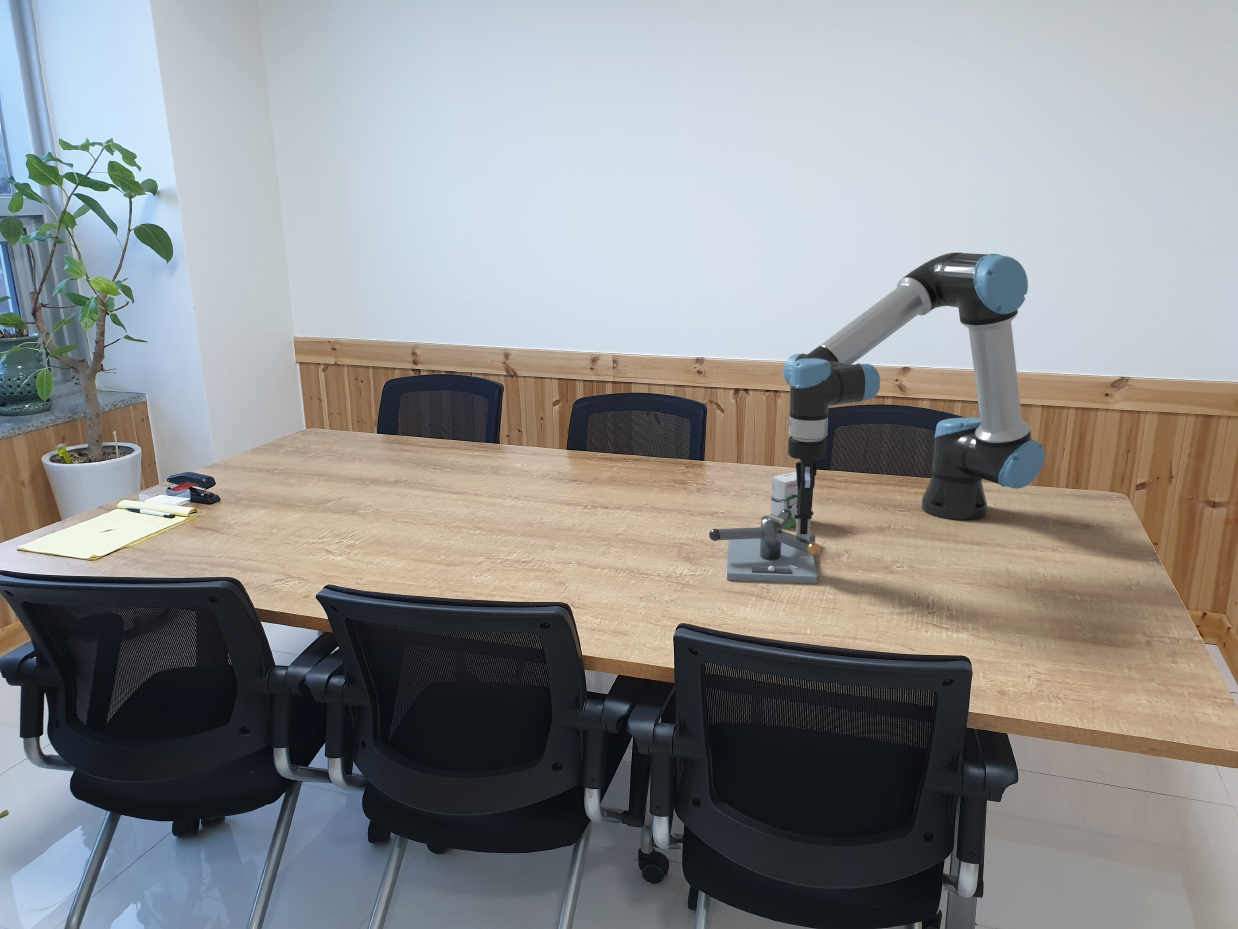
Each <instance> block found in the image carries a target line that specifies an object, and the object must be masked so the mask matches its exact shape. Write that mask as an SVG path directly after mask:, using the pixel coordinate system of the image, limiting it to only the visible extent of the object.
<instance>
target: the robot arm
mask: <svg viewBox="0 0 1238 929" xmlns="http://www.w3.org/2000/svg"><path fill="white" fill-rule="evenodd" d="M1028 281H1029V280H1028V275H1027V273H1026V271H1025V268H1024V266H1023V265H1022V264H1021V263H1020V262H1019V261H1018V260H1016V259H1015V258H1014V257H1011V256H1008V255H1002V254H999V253H987V254H986V253H970V252H969V253H968V252H967V253H966V252H950V253H944V254H942V255H938V256H936V257H934V258H932V259H929V260H928V261H927V262H924V263H923V264H921V265H919V266H917V268H915V269H913V270H912V271H910V272H909V273H907V274H906V275H904V276H903V277H902V278H900V279H899V280H898V281H897V284H896V288H895V289H893V290H892V291H891V292H890V293H888V294H887V295H885V296H883V298H881V299H880V300H879V301H877V302H875V303H874V304H873V305H872V306H871V307H869V308H868V309H867V310H865V311H864V312H862V313H861V314H860V315H858V316H857V317H856V318H855V319H853V320H851V322H849V323H848V324H846V325H845V326H844V327H842V328H841V329H840V330H838V331H837V332H836V333H834V334H833V335H832V336H830V337H829V338H828V339H826V340H825V341H824V342H822V343H821V344H820V345H818V346H817V347H816V348H814V349H813V350H811V351H810V352H809V353H794V354H793V355H791V356H789V357H788V358H787V359H786V361H785V363H784V365H783V369H782V370H783V371H782V375H783V378H784V380H785V382H786V383H787V385H788V386H789V417H788V418H789V420H786V421H785V425H787V426H788V435H789V437H788V438H787V454H788V456H789V457H791V458H793V459H794V460H795V459H796V460H799V461H797V462H795V472H796V473H797V477H796V481H797V487H798V492H797V505H796V507H797V509H798V510H797V514H798V515H794V519H797V525H796V526H795V527H796V530H795V535H796V536H798V537H801V538H803V539H806V540H808V541H810V533H811V520H812V518H813V516H814V511H813V496H814V488H815V486H816V485H815V482H816V476H817V466H816V465H817V464H816V463H815V462H814V461H815V460H822V459H824V458H825V457H826V455H827V438H826V437H827V436H828V425H829V424H828V423H829V409H830V408H829V407H830V406H834V405H835V406H837V405H843V404H844V405H845V404H851V403H861V402H864V401H868V400H869V401H870V400H872V399H874V398H875V397H876V396H877V395H878V393H879V391H880V389H881V376H880V374H879V372H878V369H877V368H876V367H875V366H874V365H873V364H870V363H860V362H858V363H856V362H857V361H859V360H860V359H861V358H863V357H864V356H865V355H867V354H868V353H869V352H870V351H871V350H873V349H875V348H876V347H877V346H878V345H880V344H881V343H882V342H884V341H885V340H886V339H888V338H890V336H892V335H893V334H894V333H895V332H897V331H899V330H900V329H901V328H902V327H904V326H905V325H906V324H907V323H909V322H910V321H912V320H913V319H915V318H916V317H917V316H925V315H927V314H928V313H931V312H932V311H933V310H934V309H938V308H941V307H952V308H958V314H959V315H958V316H959V321H960V322H959V323H960V324H961V325H963V326H964V327H966V328H967V329H968V333H969V334H968V335H969V342H970V348H971V349H970V350H971V356H972V364H973V365H972V366H973V372H974V380H975V389H976V396H977V403H978V410H979V417H953V418H946V419H942V420H940V421H938V422H937V424H936V427H935V434H934V438H933V439H934V440H933V453H932V454H933V455H932V467H931V468H932V471H931V478H930V480H929V482H928V485H927V487H926V489H925V492H924V494H923V496H922V498H921V510H923V511H924V512H926V513H928V514H930V515H932V516H936V517H938V518H944V519H951V520H976V519H981V518H982V517H984V516H986V515H987V512H988V503H987V499H986V495H985V494H986V493H985V491H984V490H985V489H984V486H983V480H984V481H988V482H991V483H993V484H997V485H999V486H1001V487H1005V488H1006V487H1007V488H1010V489H1017V490H1018V489H1023V488H1025V487H1027V486H1029V485H1030V484H1031V483H1033V481H1035V480H1036V478H1037V477H1038V475H1039V473H1040V472H1041V471H1042V468H1043V466H1044V464H1045V458H1046V452H1045V448H1044V446H1043V444H1041V443H1040V442H1039V441H1038V440H1034V439H1033V438H1032V432H1031V427H1030V424H1029V423H1028V422H1027V421H1025V420H1023V418H1022V409H1021V408H1022V407H1021V400H1020V391H1019V381H1018V374H1017V373H1018V372H1017V364H1016V363H1017V362H1016V354H1015V344H1014V343H1015V342H1014V338H1013V337H1014V335H1013V327H1012V321H1013V320H1014V319H1016V317H1017V316H1018V314H1019V309H1020V308H1021V307H1022V305H1023V304H1024V303H1025V301H1026V297H1025V295H1027V294H1028V291H1029V290H1028V289H1029V282H1028ZM855 363H856V364H855Z"/></svg>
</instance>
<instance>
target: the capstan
mask: <svg viewBox="0 0 1238 929" xmlns="http://www.w3.org/2000/svg"><path fill="white" fill-rule="evenodd" d="M791 517H792V513H791V511H790V510H788V509H784V510H782V511H781V512H780V514H779V515H778V516H773V515H771V514H769V515H764V516H761V517H760V518H761V519H760V526H759V527H738V528H713V529H711V530H710V531H709V533H708V537H709V539H710V540H711V541H713V542H717V541H728V540H735V539H757V538H761V539H760V556H761V557H762V558H764V559H770V560H774V559H779V558H780V557H781V543H784V544H786V545H789V546H791V547H794V548H796V549H799V550H801V551H804V552H806V553H809V554H810V555H813V556H817V555H819V553H820V551H821V547H820V545H819V543H817V542H815V543H814V542H811V541H808V540H806V539H803V538H801V537H798V536H795V535H796V534H794V533H793V534H792V533H790V532H787V531H785V530H783V529H782V528H783V527H784V526H785V524H786V523H787V522H788V521H789V520H790V519H791Z"/></svg>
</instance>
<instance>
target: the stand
mask: <svg viewBox="0 0 1238 929" xmlns="http://www.w3.org/2000/svg"><path fill="white" fill-rule="evenodd" d="M794 535H795V536H796V534H794ZM760 539H761V538H757V539H735V540H727V542H728V543H727V545H728V546H727V547H728V548H727V566H726V581H736V582H737V581H740V582H741V581H743V582H764V583H765V582H766V583H769V582H771V583H793V584H794V583H795V584H815V585H816V584H818V575H817V570H816V563H815V558H814V555H810V554H809V553H806V552H804V551H801V550H799V549H796V548H794V547H791V546H789V545H786V544H784V543H781V557H780V558H779V559H774V560H770V559H764V558H762V557H761V556H760ZM810 541H811V542H814V543H816V535H815V534H814V533H812V532H810Z"/></svg>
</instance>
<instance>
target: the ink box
mask: <svg viewBox="0 0 1238 929" xmlns="http://www.w3.org/2000/svg"><path fill="white" fill-rule="evenodd" d="M796 477H797V473H796V471H792V472H789V473H784V474H779V475H774V476H773V477H772V478H771V495H770V496H771V498H770V499H771V500H770V515H773V516H778V515H779V514H780V512H781V511H782V510H784V509H788V510H790V511H791V513H792V517H791V519H790V520H789V521H788V522H787V523H786V524H785V526H784V527H783V528H782V530H786V529H789V528H794V527H796V525H797V519H794V515H798V514H797V510H798V509H797V507H796V505H797V492H798V487H797V481H796Z"/></svg>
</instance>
